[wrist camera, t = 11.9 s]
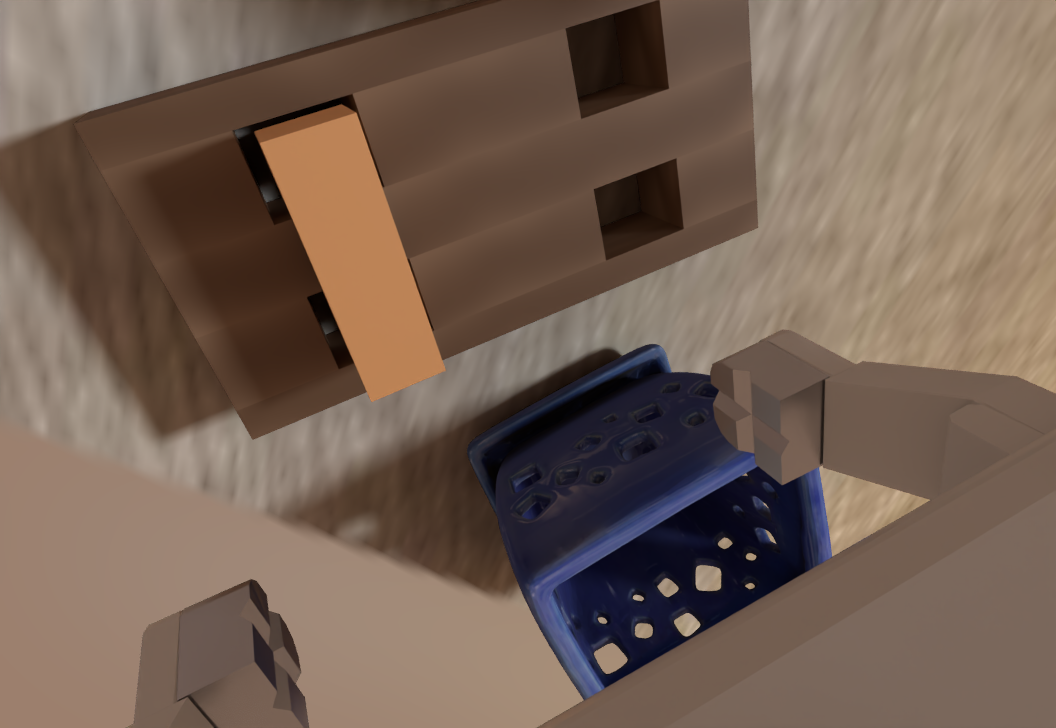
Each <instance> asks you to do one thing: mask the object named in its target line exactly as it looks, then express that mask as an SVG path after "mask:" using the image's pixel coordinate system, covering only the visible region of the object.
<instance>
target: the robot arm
mask: <svg viewBox="0 0 1056 728" xmlns="http://www.w3.org/2000/svg"><path fill="white" fill-rule="evenodd" d="M710 376H711V384H712V385H713V386H714V387H716V388H717V389H718V390H719V392H718V394H717V396H716V398H715V401H714V403H713V409H714V416H715V420H716V423H717V425H718V427H719V429H720V431H721V433H722V434H723V436H724V437H725V438H726V439H727V441H728V442H729V443H730V444H732V445H733V446H734V447H735V448H736V449H737V450H740V451H745V452H750V453H754V457H755V464H756V465H757V466H759V467H760V468H761V469H762V470H764V471H765V472H766V473H767V474H769V475H770V476H771V477H772V478H774V479H775V480H776V481H777V482H779V483H780V484H781V485H784V484H786V483H788V482H790V481H792V480H794V479H796V478H798V477H800V476H802V475H804V474H806V473H808V472H810V471H812V470H814V469H816V468H818V467H820V466H822V465H823V468H826V469H830V470H833V471H836V472H840V473H843V474H846V475H850V476H853V477H856V478H860V479H863V480H866V481H870V482H873V483H876V484H880V485H883V486H886V487H890V488H893V489H896V490H900V491H903V492H906V493H910V494H913V495H916V496H920V497H923V498H926V499H930V501H928V502H927V503H925V504H923V505H921V506H920V507H918V508H916V509H915V510H913V511H911V512H909V513H908V514H906V515H904V516H902V517H901V518H899V519H897V520H895V521H894V522H892V523H890V524H888V525H887V526H885V527H883V528H882V529H880V530H878V531H876V532H875V533H873V534H871V535H869V536H868V537H866V538H864V539H862V540H861V541H859V542H857V543H856V544H854V545H852V546H850V547H849V548H847V549H845V550H843V551H842V552H840V553H838V554H837V555H835V556H833V557H831V558H830V559H828V560H826V561H824V562H823V563H821V564H819V565H817V566H816V567H814V568H812V569H811V570H809V571H807V572H805V573H804V574H802V575H800V576H798V577H797V578H795V579H793V580H792V581H790V582H788V583H786V584H785V585H783V586H781V587H779V588H778V589H776V590H774V591H773V592H771V593H769V594H767V595H766V596H764V597H762V598H760V599H759V600H757V601H755V602H753V603H752V604H750V605H748V606H747V607H745V608H743V609H741V610H740V611H738V612H736V613H734V614H733V615H731V616H729V617H728V618H726V619H724V620H722V621H721V622H719V623H717V624H715V625H714V626H712V627H710V628H708V629H707V630H705V631H703V632H702V633H700V634H698V635H696V636H695V637H693V638H691V639H689V640H688V641H686V642H684V643H682V644H681V645H679V646H677V647H676V648H674V649H672V650H670V651H669V652H667V653H665V654H663V655H662V656H660V657H658V658H656V659H655V660H653V661H651V662H650V663H648V664H646V665H644V666H643V667H641V668H639V669H637V670H636V671H634V672H632V673H630V674H629V675H627V676H625V677H624V678H622V679H620V680H618V681H617V682H615V683H613V684H611V685H610V686H608V687H606V688H604V689H603V690H601V691H599V692H598V693H596V694H594V695H592V696H591V697H589V698H587V699H585V700H584V701H582V702H580V703H579V704H577V705H575V706H573V707H572V708H570V709H568V710H566V711H565V712H563V713H561V714H560V715H558V716H556V717H554V718H552V719H551V720H549V721H547V722H545V723H544V724H542V725H540V726H539V727H537V728H1056V394H1055V393H1053V392H1051V391H1048V390H1046V389H1044V388H1042V387H1039V386H1037V385H1035V384H1033V383H1030V382H1028V381H1026V380H1023V379H1021V378H1019V377H1016V376H1006V375H996V374H986V373H976V372H966V371H956V370H946V369H936V368H926V367H916V366H906V365H896V364H886V363H876V362H866V361H862V362H860V363H858V364H854V363H852V362H850V361H848V360H846V359H844V358H843V357H841V356H839V355H837V354H835V353H833V352H831V351H829V350H827V349H825V348H824V347H822V346H820V345H818V344H816V343H814V342H812V341H810V340H808V339H806V338H804V337H803V336H801V335H799V334H797V333H795V332H793V331H791V330H781V331H779V332H777V333H775V334H773V335H771V336H768V337H766V338H764V339H762V340H760V341H759V342H758V343H756V344H754V345H751V346H749V347H747V348H745V349H743V350H741V351H739V352H737V353H735V354H732V355H730V356H728V357H726V358H724V359H722V360H720V361H718V362H716V363H714V364H713V365H712V368H711V371H710ZM300 673H301V669H300V664H299V657H298V654H297V651H296V647H295V644H294V641H293V638H292V636H291V634H290V632H289V630H288V628H287V626H286V624H285V622H284V621H283V620H282V618H281V616H280V614H277V613H274V612H270V611H268V603H267V595H266V593H265V592H264V591H263V589H262V588H261V587H260V585H259V584H258V583H257V581H255V580H252V579H251V580H248V581H246V582H244V583H241V584H239V585H237V586H234V587H232V588H230V589H228V590H225V591H223V592H221V593H219V594H216V595H214V596H212V597H210V598H207V599H205V600H203V601H201V602H198V603H196V604H194V605H192V606H189V607H187V608H185V609H184V610H182V611H179V612H177V613H175V614H172V615H170V616H168V617H166V618H164V619H161V620H159V621H157V622H155V623H152V624H150V625H149V626H148V627H147V628H146V630H145V632H144V633H143V637H142V647H141V656H140V666H139V676H138V687H137V695H136V705H135V715H134V724H132V725H130V726H128V727H126V728H309V723H308V716H307V709H306V702H305V697H304V696H303V694H302V693H301V691H300V690H299V688H298V687H297V685H296V682H297V680H298V678H299V676H300Z"/></svg>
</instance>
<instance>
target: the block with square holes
mask: <svg viewBox="0 0 1056 728" xmlns="http://www.w3.org/2000/svg"><path fill="white" fill-rule="evenodd" d="M611 14H614V16H615V23H616V31H617V38H618V45H619V52H620V59H621V67H622V74H623V81H624V83H621V84H618V85H615V86H612V87H609V88H606V89H603V90H600V91H597V92H594V93H591V94H589V95H586V96H583V97H580V98H577V92H576V86H575V81H574V75H573V69H572V63H571V58H570V52H569V46H568V41H567V35H566V29H565V28H568V27H571V26H575V25H578V24H581V23H585V22H588V21H591V20H594V19H598V18H601V17H604V16H607V15H611ZM337 98H340V100H341V103H342V105H344V106H345V107H347V108H349V109H351V110H352V111H354V112H356V113H357V116H358V119H359V122H360V125H361V127H362V130H363V133H364V136H365V139H366V142H367V145H368V148H369V151H370V153H371V156H372V159H373V162H374V165H375V168H376V171H377V174H378V176H379V179H380V182H381V185H382V188H383V191H384V194H385V197H386V200H387V202H388V205H389V208H390V211H391V214H392V217H393V220H394V223H395V225H396V228H397V231H398V234H399V237H400V240H401V243H402V246H403V249H404V251H405V254H406V257H407V260H408V263H409V266H410V269H411V272H412V274H413V277H414V280H415V283H416V286H417V289H418V292H419V295H420V297H421V300H422V303H423V306H424V309H425V312H426V315H427V318H428V321H429V323H430V326H431V329H432V332H433V335H434V338H435V341H436V344H437V346H438V349H439V352H440V355H441V358H442V360H444V359H446V358H449V357H451V356H454V355H456V354H458V353H461V352H463V351H466V350H468V349H470V348H473V347H475V346H477V345H480V344H482V343H485V342H487V341H489V340H492V339H494V338H497V337H499V336H501V335H504V334H506V333H508V332H511V331H513V330H516V329H518V328H520V327H523V326H525V325H527V324H530V323H532V322H535V321H537V320H539V319H542V318H544V317H547V316H549V315H551V314H554V313H556V312H558V311H561V310H563V309H566V308H568V307H570V306H573V305H575V304H578V303H580V302H582V301H585V300H587V299H589V298H592V297H594V296H597V295H599V294H601V293H604V292H606V291H609V290H611V289H613V288H616V287H618V286H620V285H623V284H625V283H628V282H630V281H632V280H635V279H637V278H640V277H642V276H644V275H647V274H649V273H651V272H654V271H656V270H659V269H661V268H663V267H666V266H668V265H671V264H673V263H675V262H678V261H680V260H682V259H685V258H687V257H690V256H692V255H694V254H697V253H699V252H701V251H704V250H706V249H709V248H711V247H713V246H716V245H718V244H721V243H723V242H725V241H728V240H730V239H732V238H735V237H737V236H740V235H742V234H744V233H747V232H749V231H752V230H754V229H756V228H758V215H757V192H756V169H755V145H754V122H753V99H752V76H751V53H750V29H749V6H748V0H479V1H476V2H472V3H469V4H465V5H462V6H458V7H455V8H451V9H448V10H444V11H441V12H437V13H434V14H430V15H427V16H423V17H420V18H416V19H413V20H409V21H406V22H402V23H399V24H395V25H392V26H388V27H385V28H381V29H378V30H374V31H371V32H367V33H364V34H360V35H357V36H353V37H350V38H346V39H343V40H339V41H336V42H332V43H329V44H325V45H321V46H318V47H314V48H311V49H307V50H304V51H300V52H297V53H293V54H290V55H286V56H283V57H279V58H276V59H272V60H269V61H265V62H262V63H258V64H255V65H251V66H248V67H244V68H241V69H237V70H234V71H230V72H227V73H223V74H220V75H216V76H213V77H209V78H206V79H202V80H199V81H195V82H192V83H188V84H185V85H181V86H178V87H174V88H171V89H167V90H164V91H160V92H157V93H153V94H150V95H146V96H143V97H139V98H136V99H132V100H129V101H125V102H122V103H118V104H115V105H111V106H108V107H104V108H101V109H97V110H94V111H90V112H89V113H87V114H86V115H85V116H83V117H82V118H81V119H79V120H78V121H77V122H75V123H74V124H73V125H74V127H75V129H76V130H77V132H78V134H79V136H80V137H81V139H82V141H83V143H84V144H85V146H86V148H87V150H88V151H89V153H90V155H91V157H92V158H93V160H94V162H95V164H96V165H97V167H98V169H99V171H100V172H101V174H102V176H103V178H104V179H105V181H106V183H107V185H108V186H109V188H110V190H111V192H112V194H113V195H114V197H115V199H116V201H117V202H118V204H119V206H120V208H121V209H122V211H123V213H124V215H125V216H126V218H127V220H128V222H129V223H130V225H131V227H132V229H133V230H134V232H135V234H136V236H137V237H138V239H139V241H140V243H141V244H142V246H143V248H144V250H145V252H146V253H147V255H148V257H149V259H150V260H151V262H152V264H153V266H154V267H155V269H156V271H157V273H158V274H159V276H160V278H161V280H162V281H163V283H164V285H165V287H166V288H167V290H168V292H169V294H170V295H171V297H172V299H173V301H174V302H175V304H176V306H177V308H178V309H179V311H180V313H181V315H182V317H183V318H184V320H185V322H186V324H187V325H188V327H189V329H190V331H191V332H192V334H193V336H194V338H195V339H196V341H197V343H198V345H199V346H200V348H201V350H202V352H203V353H204V355H205V357H206V359H207V360H208V362H209V364H210V366H211V367H212V369H213V371H214V373H215V374H216V376H217V378H218V380H219V382H220V383H221V385H222V387H223V389H224V390H225V392H226V394H227V396H228V397H229V399H230V401H231V403H232V404H233V406H234V408H235V410H236V411H237V413H238V415H239V417H240V418H241V420H242V422H243V424H244V425H245V427H246V429H247V431H248V432H249V434H250V436H251V438H252V439H256V438H258V437H261V436H263V435H265V434H268V433H270V432H272V431H275V430H277V429H280V428H282V427H284V426H287V425H289V424H292V423H294V422H296V421H299V420H301V419H303V418H306V417H308V416H311V415H313V414H315V413H318V412H320V411H323V410H325V409H327V408H330V407H332V406H334V405H337V404H339V403H342V402H344V401H346V400H349V399H351V398H353V397H356V396H358V395H361V394H363V393H365V392H367V391H366V389H365V386H364V384H363V382H362V380H361V378H360V375H359V373H358V371H357V368H356V366H355V364H354V362H353V359H352V357H351V355H350V352H349V350H348V348H347V346H346V344H345V341H344V339H343V337H342V335H341V332H340V330H338V331H335V332H332V333H330V334H327V335H325V333H324V331H323V329H322V326H321V324H320V322H319V320H318V317H317V315H316V313H315V311H314V309H313V306H312V304H311V302H310V300H309V297H308V296H311V295H313V294H316V293H319V292H321V291H323V290H322V287H321V285H320V283H319V280H318V278H317V276H316V273H315V271H314V269H313V267H312V264H311V262H310V260H309V257H308V255H307V253H306V250H305V248H304V246H303V243H302V241H301V239H300V236H299V234H298V232H297V229H296V227H295V225H294V222H293V220H292V218H291V216H290V213H289V211H288V209H287V206H286V204H285V202H284V200H283V198H279V199H276V200H273V201H271V202H268V203H266V201H265V199H264V197H263V194H262V192H261V190H260V188H259V185H258V183H257V181H256V179H255V177H254V174H253V172H252V170H251V168H250V165H249V163H248V161H247V159H246V156H245V154H244V152H243V150H242V147H241V145H240V143H239V141H238V138H237V136H236V134H235V132H234V130H236V129H239V128H242V127H245V126H249V125H252V124H255V123H259V122H262V121H265V120H268V119H272V118H275V117H278V116H281V115H285V114H288V113H291V112H294V111H298V110H301V109H304V108H307V107H311V106H314V105H317V104H320V103H324V102H327V101H330V100H333V99H337ZM635 173H636V174H637V182H638V189H639V196H640V203H641V210H642V211H641V212H638V213H636V214H633V215H631V216H628V217H626V218H623V219H620V220H618V221H615V222H613V223H610V224H608V225H605V226H603V227H600V223H599V217H598V211H597V206H596V200H595V194H594V189H596V188H598V187H601V186H604V185H606V184H609V183H612V182H614V181H617V180H620V179H622V178H625V177H627V176H630V175H633V174H635Z"/></svg>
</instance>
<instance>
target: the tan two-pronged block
mask: <svg viewBox="0 0 1056 728" xmlns="http://www.w3.org/2000/svg"><path fill="white" fill-rule="evenodd" d="M254 134H255V136H256V139H257V141H258V143H259V146H260V148H261V150H262V152H263V155H264V157H265V159H266V162H267V164H268V166H269V169H270V171H271V173H272V176H273V178H274V180H275V182H276V185H277V187H278V189H279V191H280V193H281V195H282V198H283V200H284V202H285V204H286V206H287V209H288V211H289V213H290V216H291V218H292V220H293V222H294V225H295V227H296V229H297V232H298V234H299V236H300V239H301V241H302V243H303V246H304V248H305V250H306V253H307V255H308V257H309V260H310V262H311V264H312V267H313V269H314V271H315V273H316V276H317V278H318V280H319V283H320V285H321V287H322V290H323V294H324V296H325V298H326V301H327V303H328V305H329V308H330V310H331V312H332V314H333V317H334V319H335V321H336V323H337V326H338V328H339V330H340V332H341V335H342V337H343V339H344V341H345V344H346V346H347V348H348V350H349V352H350V355H351V357H352V359H353V362H354V364H355V366H356V368H357V371H358V373H359V375H360V378H361V380H362V382H363V384H364V386H365V389H366V391H367V393H368V395H369V398H370V400H371V402H373V401H375V400H377V399H380V398H382V397H384V396H387V395H389V394H392V393H394V392H396V391H399V390H401V389H403V388H406V387H408V386H410V385H413V384H415V383H417V382H420V381H422V380H425V379H427V378H429V377H432V376H434V375H436V374H439V373H441V372H443V371H446V370H445V367H444V364H443V361H442V358H441V355H440V352H439V349H438V346H437V344H436V341H435V338H434V335H433V332H432V329H431V326H430V323H429V321H428V318H427V315H426V312H425V309H424V306H423V303H422V300H421V297H420V295H419V292H418V289H417V286H416V283H415V280H414V277H413V274H412V272H411V269H410V266H409V263H408V260H407V257H406V254H405V251H404V249H403V246H402V243H401V240H400V237H399V234H398V231H397V228H396V225H395V223H394V220H393V217H392V214H391V211H390V208H389V205H388V202H387V200H386V197H385V194H384V191H383V188H382V185H381V182H380V179H379V176H378V174H377V171H376V168H375V165H374V162H373V159H372V156H371V153H370V151H369V148H368V145H367V142H366V139H365V136H364V133H363V130H362V127H361V125H360V122H359V119H358V116H357V113H356V112H354V111H352V110H351V109H349V108H347V107H345V106H344V105H342V104H341V105H338V106H335V107H331V108H328V109H325V110H322V111H318V112H315V113H312V114H309V115H305V116H302V117H299V118H296V119H293V120H289V121H286V122H283V123H280V124H276V125H273V126H270V127H267V128H263V129H260V130H257V131H254Z"/></svg>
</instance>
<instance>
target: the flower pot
mask: <svg viewBox="0 0 1056 728" xmlns="http://www.w3.org/2000/svg"><path fill="white" fill-rule="evenodd" d="M718 392H719V390H718V389H717V388H716V387H714V386H713V385H712V384H711V376H710V375H705V374H698V373H688V372H671V368H670V365H669V362H668V359H667V356H666V353H665V351H664V350H663V348H662V347H661V346H659V345H657V344H649V345H645V346H643V347H640V348H637V349H635V350H633V351H631V352H629V353H627V354H625V355H623V356H621V357H619V358H617V359H616V360H614V361H612V362H610V363H608V364H606V365H604V366H602V367H600V368H599V369H597V370H595V371H593V372H591V373H589V374H587V375H585V376H584V377H582V378H580V379H578V380H576V381H574V382H573V383H571V384H569V385H567V386H565V387H563V388H561V389H559V390H558V391H556V392H554V393H552V394H550V395H549V396H547V397H545V398H543V399H541V400H540V401H538V402H536V403H534V404H532V405H531V406H529V407H527V408H525V409H523V410H522V411H520V412H518V413H516V414H515V415H513V416H511V417H509V418H508V419H506V420H504V421H502V422H501V423H499V424H497V425H495V426H494V427H492V428H490V429H488V430H487V431H485V432H484V433H482V434H480V435H479V436H477V437H476V438H475V439H474V440H473V441H472V442H471V443H470V444H469V445H468V448H467V454H468V458H469V460H470V463H471V465H472V467H473V469H474V471H475V473H476V475H477V478H478V480H479V482H480V484H481V486H482V488H483V490H484V492H485V494H486V495H487V497H488V499H489V501H490V503H491V506H492V508H493V510H494V512H495V513H496V515H497V517H498V523H499V528H500V532H501V536H502V539H503V542H504V546H505V549H506V552H507V555H508V558H509V561H510V563H511V566H512V569H513V572H514V574H515V577H516V579H517V582H518V584H519V586H520V589H521V591H522V594H523V596H524V598H525V600H526V602H527V604H528V606H529V608H530V611H531V613H532V615H533V617H534V619H535V620H536V622H537V624H538V626H539V628H540V630H541V632H542V633H543V635H544V637H545V639H546V640H547V642H548V644H549V646H550V647H551V649H552V650H553V652H554V654H555V655H556V657H557V659H558V661H559V662H560V664H561V666H562V667H563V669H564V670H565V672H566V673H567V675H568V676H569V678H570V680H571V681H572V683H573V684H574V686H575V687H576V689H577V690H578V691H579V693H580V695H581V696H582V698H583V699H584V700H585V699H587V698H589V697H591V696H592V695H594V694H596V693H598V692H599V691H601V690H603V689H604V688H606V687H608V686H610V685H611V684H613V683H615V682H617V681H618V680H620V679H622V678H624V677H625V676H627V675H629V674H630V673H632V672H634V671H636V670H637V669H639V668H641V667H643V666H644V665H646V664H648V663H650V662H651V661H653V660H655V659H656V658H658V657H660V656H662V655H663V654H665V653H667V652H669V651H670V650H672V649H674V648H676V647H677V646H679V645H681V644H682V643H684V642H686V641H688V640H689V639H691V638H693V637H695V636H696V635H698V634H700V633H702V632H703V631H705V630H707V629H708V628H710V627H712V626H714V625H715V624H717V623H719V622H721V621H722V620H724V619H726V618H728V617H729V616H731V615H733V614H734V613H736V612H738V611H740V610H741V609H743V608H745V607H747V606H748V605H750V604H752V603H753V602H755V601H757V600H759V599H760V598H762V597H764V596H766V595H767V594H769V593H771V592H773V591H774V590H776V589H778V588H779V587H781V586H783V585H785V584H786V583H788V582H790V581H792V580H793V579H795V578H797V577H798V576H800V575H802V574H804V573H805V572H807V571H809V570H811V569H812V568H814V567H816V566H817V565H819V564H821V563H823V562H824V561H826V560H828V559H830V558H831V557H832V553H831V544H830V536H829V529H828V523H827V516H826V510H825V503H824V497H823V490H822V484H821V478H820V472H819V467H818V468H816V469H814V470H812V471H810V472H808V473H806V474H804V475H802V476H800V477H798V478H796V479H794V480H792V481H790V482H788V483H786V484H784V485H781V484H780V483H779V482H777V481H776V480H775V479H774V478H772V477H771V476H770V475H769V474H767V473H766V472H765V471H764V470H762V469H761V468H760V467H759V466H757V465H756V464H755V457H754V453H750V452H745V451H740V450H737V449H736V448H735V447H734V446H733V445H732V444H730V443H729V442H728V441H727V439H726V438H725V437H724V436H723V434H722V433H721V431H720V429H719V427H718V425H717V423H716V420H715V416H714V409H713V403H714V401H715V398H716V396H717V394H718ZM745 473H747V475H748V476H742V475H743V474H745ZM763 502H764V503H765V504H766V505H767V506H768V508H767V507H766V506H765V505H764V504H763ZM765 530H767V531H769V532H770V533H771V534H772V536H773V537H774V539H775V542H776V544H775V543H773V542H771V541H770V539H769V537H768V535H767V533H766V531H765ZM724 537H725V538H728V539H729V540H731V541H732V543H733V544H732V545H731V546H730V547H729V548H727V549H723V548H721V547H719V546H718V542H719V541H720V540H721V539H723V538H724ZM748 553H752V554H754V555H756V556H757V557H756V559H755V560H752V561H751V560H748V559H746V555H747V554H748ZM699 565H708V566H714V567H717V568H719V569H720V570H721V574H722V575H721V588H720V590H717V591H699V590H698V589H697V588H696V580H695V573H696V567H697V566H699ZM665 578H668V579H670V580H672V581H673V582H674V583H675V584H676V585H677V586H678V588H679V589H678V591H677V592H676V593H675V594H673V595H672V596H670V597H665V596H664V595H663V594H662V593H661V592H660V591H659V589H658V588H657V586H658V585H659V584H660V583H661V581H662V580H663V579H665ZM749 583H753V584H754V585H755V587H754V588H753V589H748V588H746V587H745V585H746V584H749ZM634 595H640V596H642V597H643V598H644V600H643V601H637V600H634V599H633V596H634ZM685 613H690V614H692V615H693V616H694V617H695V618H696V619H697V620H698V621H699V622H700V627H699V628H698V629H697V630H696V631H695V632H694V633H693V634H691V635H690V636H687V637H686V636H683V635H682V634H681V633H680V632H679V630H678V629H677V627H676V626H675V624H674V620H675V619H677V618H678V617H680V616H682V615H683V614H685ZM598 617H603V618H605V619H606V620H607V623H606V624H602V623H599V621H598ZM638 623H647V624H650V625H651V626H652V627H653V634H652V636H651V637H649V638H646V639H645V638H638V637H636V636H635V626H636V625H637V624H638ZM610 643H614V644H615V645H617V646H618V647H619V649H620V650H621V651H622V652H623V653H624V654H625V656H626V657H627V659H628V661H627V663H626V664H624V665H623V666H622V667H621V668H619V669H618V670H617V671H615V672H613V673H610V674H605V673H604V672H603V671H602V669H601V668H600V666H599V664H598V663H597V660H596V658H595V656H594V652H595V651H596V650H598V649H600V648H602V647H603V646H605V645H607V644H610Z"/></svg>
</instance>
